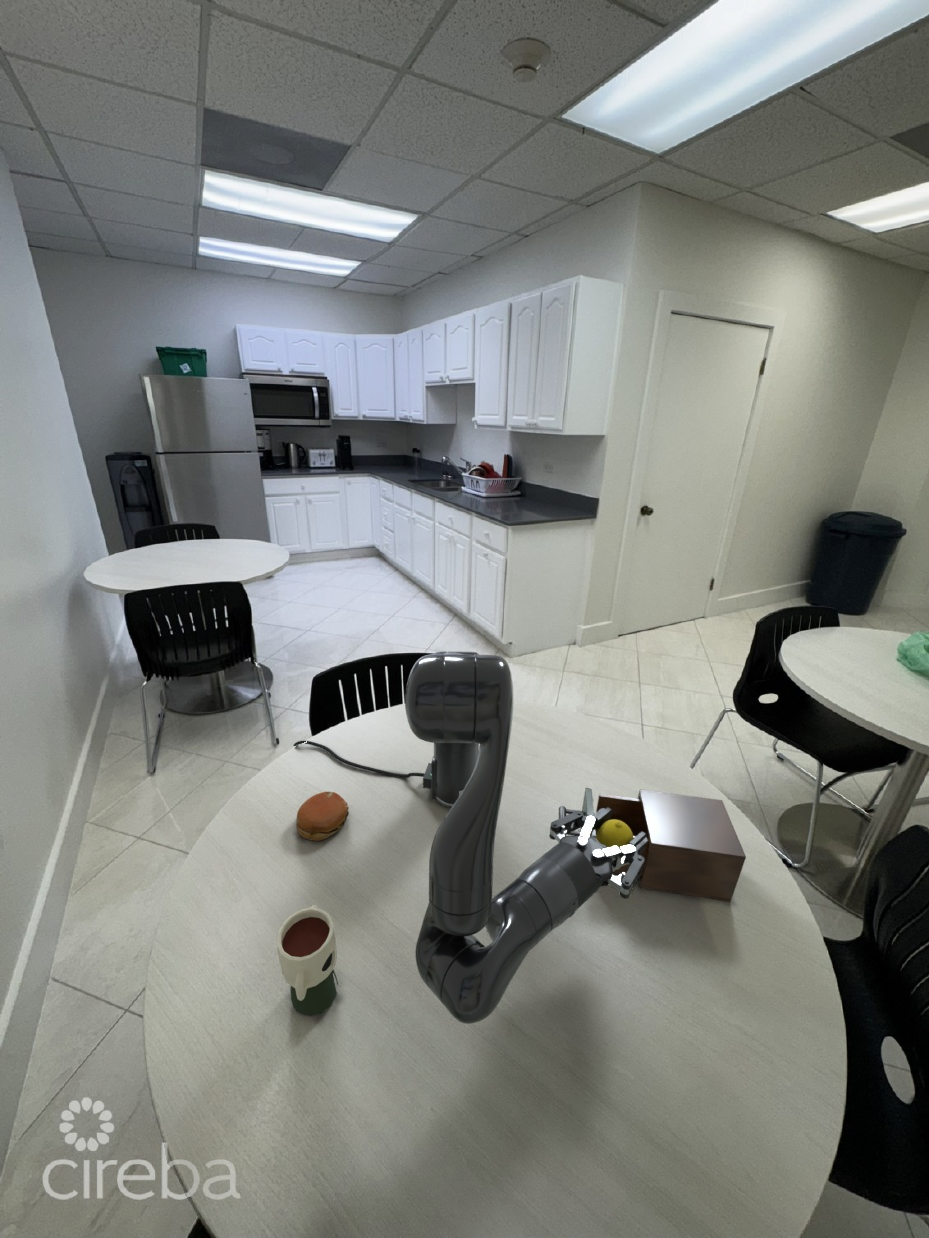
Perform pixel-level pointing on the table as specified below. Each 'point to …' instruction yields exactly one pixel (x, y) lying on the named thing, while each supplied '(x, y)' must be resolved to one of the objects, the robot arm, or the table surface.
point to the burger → (321, 816)
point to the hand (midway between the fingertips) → (625, 824)
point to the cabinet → (690, 846)
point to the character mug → (309, 959)
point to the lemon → (614, 833)
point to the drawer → (615, 816)
